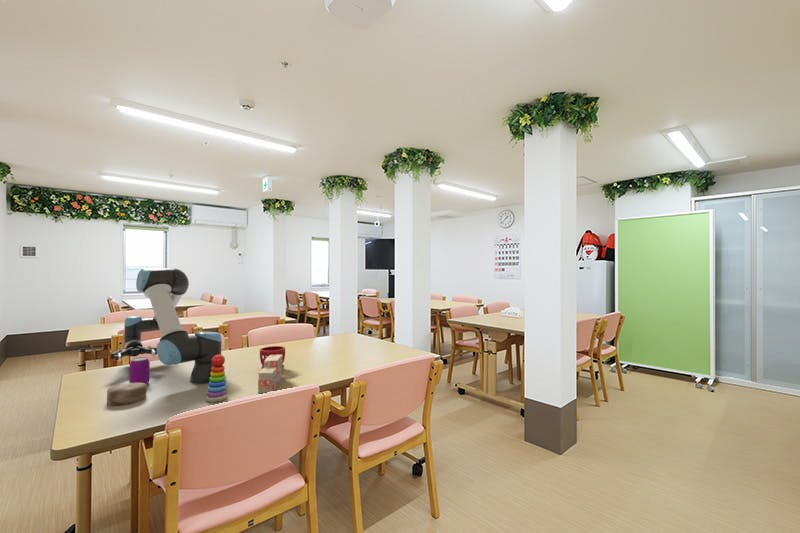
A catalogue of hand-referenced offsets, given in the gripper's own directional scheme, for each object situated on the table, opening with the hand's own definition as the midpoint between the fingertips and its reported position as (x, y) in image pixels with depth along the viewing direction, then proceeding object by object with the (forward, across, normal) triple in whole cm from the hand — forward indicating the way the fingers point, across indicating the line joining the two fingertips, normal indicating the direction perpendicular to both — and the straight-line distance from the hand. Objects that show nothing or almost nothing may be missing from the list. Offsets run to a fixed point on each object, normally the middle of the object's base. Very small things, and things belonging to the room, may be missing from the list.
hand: (137, 356), depth 175 cm
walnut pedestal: (+30, +6, -10) cm, 32 cm away
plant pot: (+25, -57, -10) cm, 64 cm away
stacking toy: (+52, -24, -10) cm, 58 cm away
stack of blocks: (+49, -48, -10) cm, 69 cm away
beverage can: (+10, 0, -11) cm, 15 cm away
